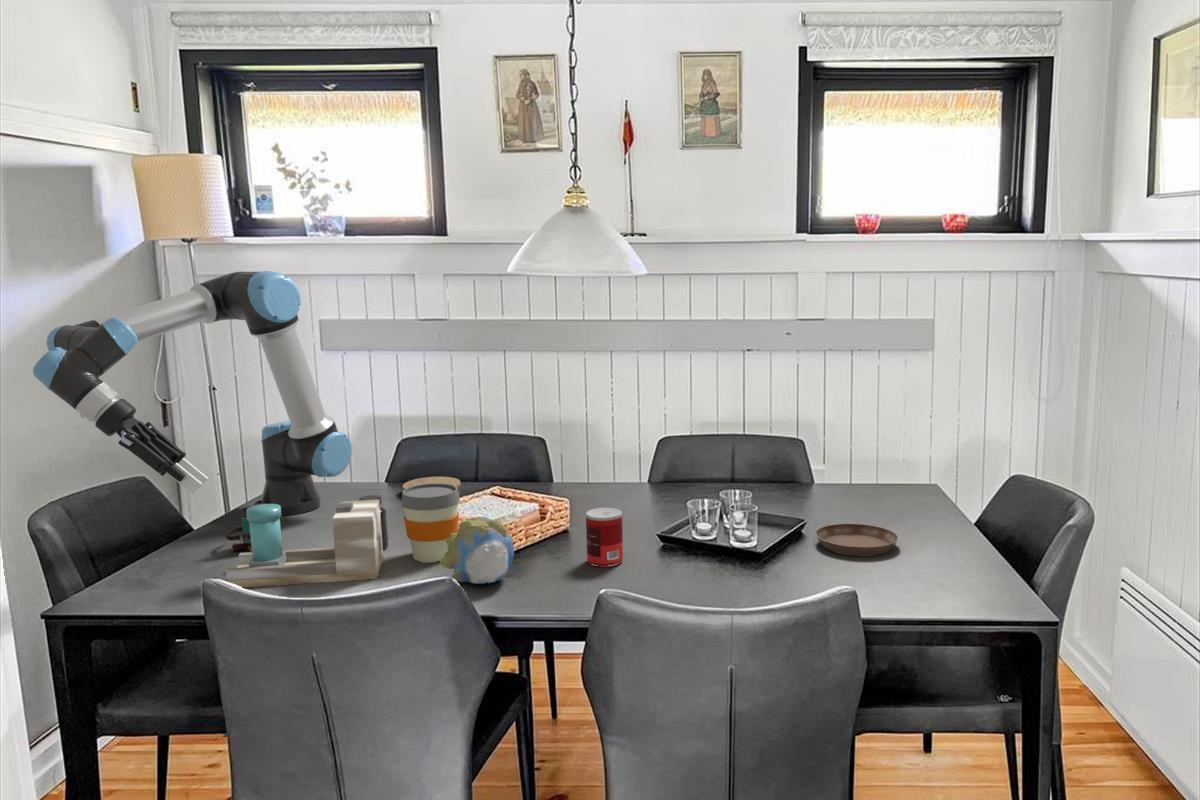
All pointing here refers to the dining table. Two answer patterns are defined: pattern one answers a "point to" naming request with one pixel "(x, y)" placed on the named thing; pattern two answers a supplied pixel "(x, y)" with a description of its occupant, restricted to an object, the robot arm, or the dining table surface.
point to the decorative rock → (479, 551)
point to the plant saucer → (856, 539)
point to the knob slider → (266, 535)
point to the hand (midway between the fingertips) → (200, 485)
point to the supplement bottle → (383, 519)
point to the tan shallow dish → (434, 480)
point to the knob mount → (326, 553)
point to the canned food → (604, 536)
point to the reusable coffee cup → (430, 518)
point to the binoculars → (246, 532)
